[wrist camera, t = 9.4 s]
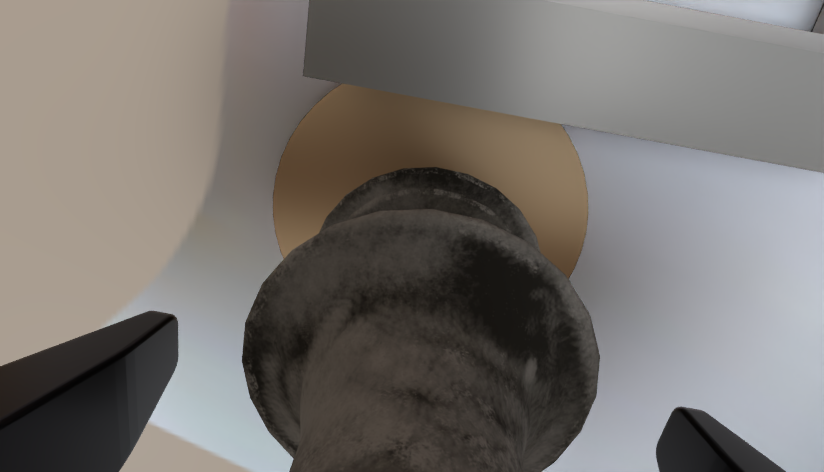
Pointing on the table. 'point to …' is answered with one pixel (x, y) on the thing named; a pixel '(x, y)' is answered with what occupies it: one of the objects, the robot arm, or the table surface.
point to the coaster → (430, 162)
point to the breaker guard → (590, 68)
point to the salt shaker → (421, 336)
